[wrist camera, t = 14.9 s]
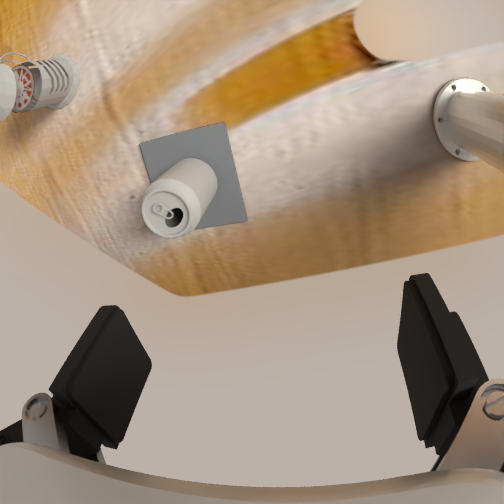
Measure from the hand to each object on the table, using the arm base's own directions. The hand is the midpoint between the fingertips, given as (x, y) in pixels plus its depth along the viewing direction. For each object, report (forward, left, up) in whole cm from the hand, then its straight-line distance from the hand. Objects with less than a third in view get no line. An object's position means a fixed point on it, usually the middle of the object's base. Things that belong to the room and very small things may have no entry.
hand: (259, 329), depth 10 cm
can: (+14, +4, -36) cm, 39 cm away
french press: (+33, -19, -36) cm, 53 cm away
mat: (+14, +5, -36) cm, 39 cm away
